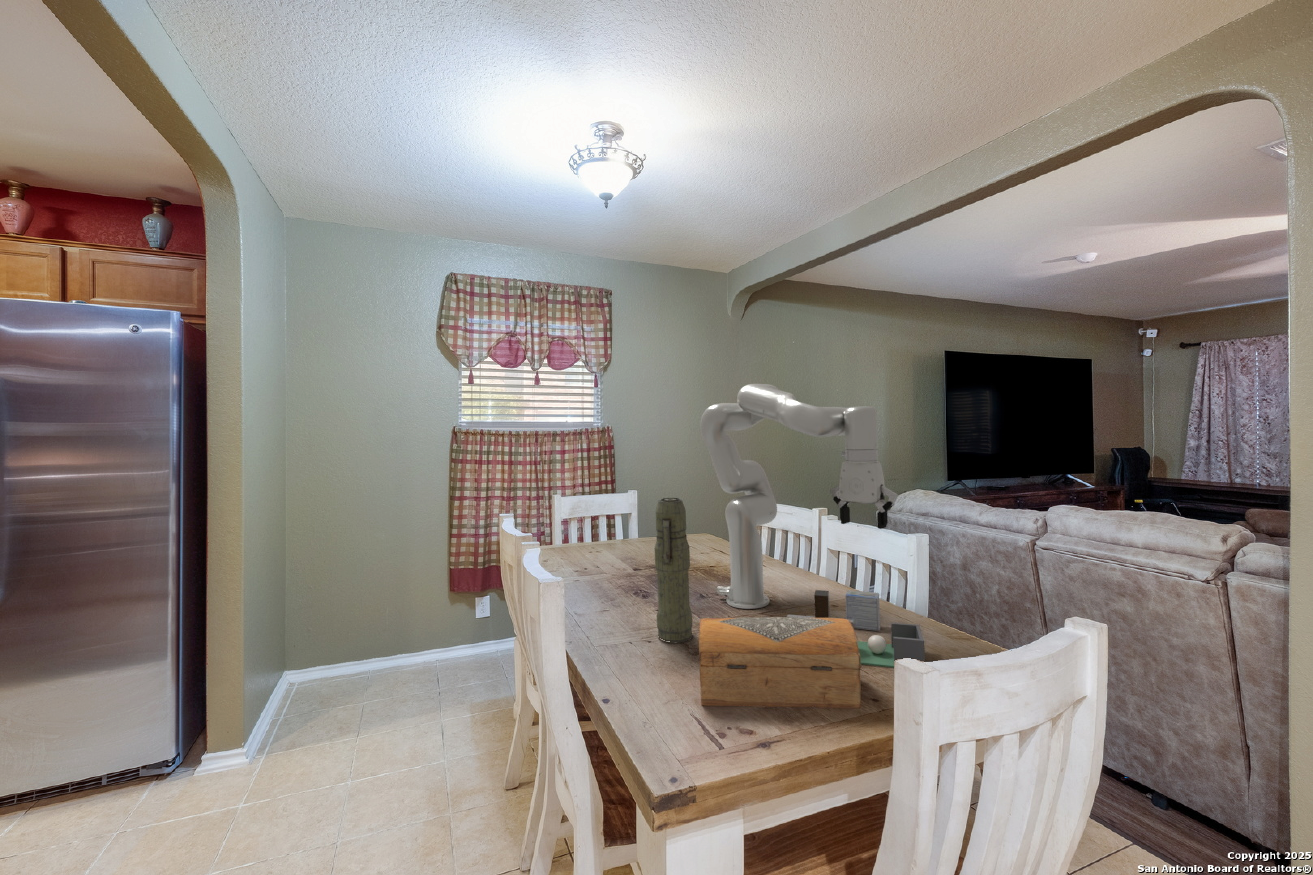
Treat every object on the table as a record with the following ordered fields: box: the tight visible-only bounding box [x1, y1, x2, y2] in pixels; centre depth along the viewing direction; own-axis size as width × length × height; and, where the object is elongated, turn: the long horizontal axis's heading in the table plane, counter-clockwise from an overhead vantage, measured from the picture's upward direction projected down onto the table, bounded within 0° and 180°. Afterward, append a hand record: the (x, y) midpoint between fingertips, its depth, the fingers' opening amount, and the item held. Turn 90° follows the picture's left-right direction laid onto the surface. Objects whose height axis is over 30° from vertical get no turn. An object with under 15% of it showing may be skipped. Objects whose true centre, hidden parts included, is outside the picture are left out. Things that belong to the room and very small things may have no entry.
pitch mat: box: [857, 640, 895, 669], centre depth 125 cm, size 14×12×1 cm
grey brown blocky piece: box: [786, 589, 853, 626], centre depth 129 cm, size 15×4×12 cm, turn 70°
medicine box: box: [845, 589, 881, 632], centre depth 142 cm, size 8×4×9 cm, turn 65°
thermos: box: [654, 497, 693, 643], centre depth 140 cm, size 9×12×35 cm
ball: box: [867, 634, 888, 654], centre depth 125 cm, size 4×4×4 cm
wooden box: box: [698, 616, 862, 709], centre depth 112 cm, size 30×16×14 cm, turn 83°
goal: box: [890, 621, 926, 663], centre depth 123 cm, size 6×10×6 cm, turn 160°
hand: (863, 525), depth 137 cm, fingers open, 9 cm apart
